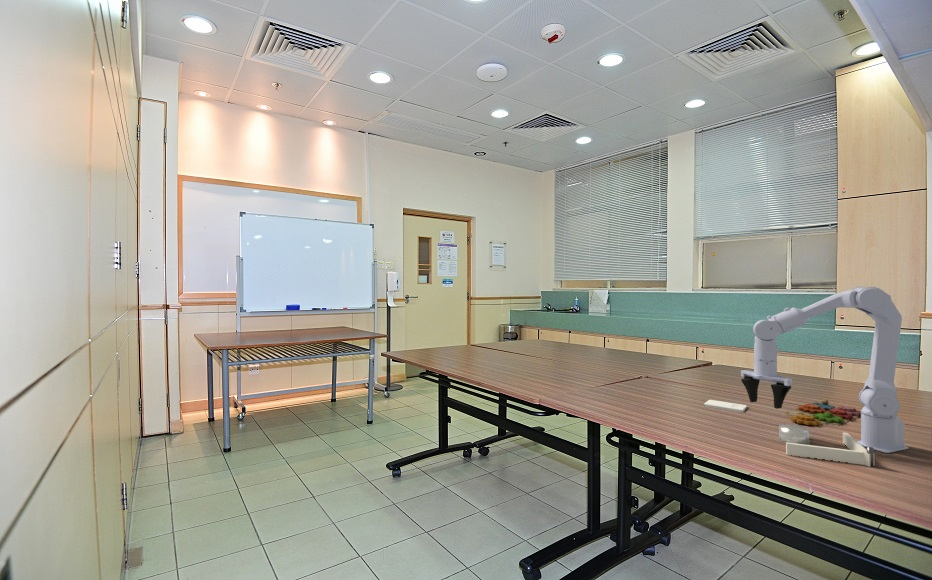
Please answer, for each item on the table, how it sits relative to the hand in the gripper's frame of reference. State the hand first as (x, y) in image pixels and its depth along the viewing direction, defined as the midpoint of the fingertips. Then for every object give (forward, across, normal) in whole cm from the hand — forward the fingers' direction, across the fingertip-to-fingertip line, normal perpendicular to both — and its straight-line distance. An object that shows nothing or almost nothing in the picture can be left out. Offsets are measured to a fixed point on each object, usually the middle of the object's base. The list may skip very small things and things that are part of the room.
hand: (765, 404), depth 134 cm
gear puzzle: (+9, -6, +32) cm, 34 cm away
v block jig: (+8, +21, 0) cm, 23 cm away
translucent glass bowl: (+9, +8, +1) cm, 12 cm away
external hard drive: (+9, -26, +15) cm, 31 cm away
